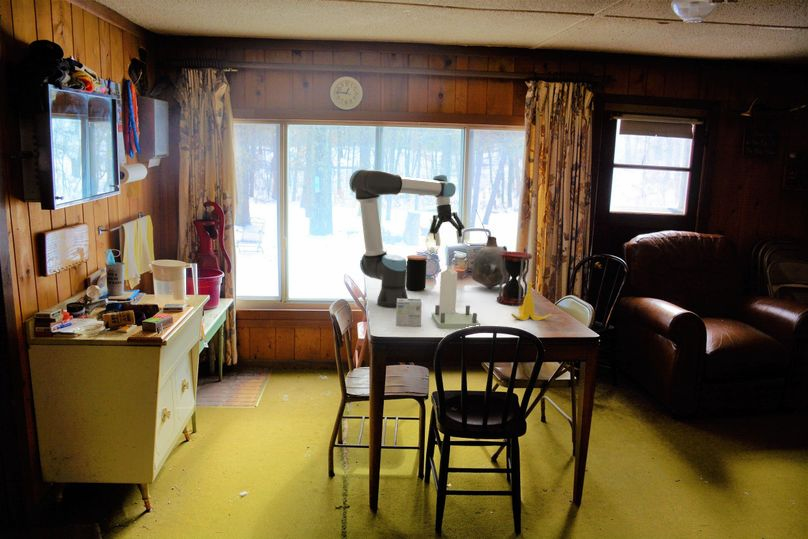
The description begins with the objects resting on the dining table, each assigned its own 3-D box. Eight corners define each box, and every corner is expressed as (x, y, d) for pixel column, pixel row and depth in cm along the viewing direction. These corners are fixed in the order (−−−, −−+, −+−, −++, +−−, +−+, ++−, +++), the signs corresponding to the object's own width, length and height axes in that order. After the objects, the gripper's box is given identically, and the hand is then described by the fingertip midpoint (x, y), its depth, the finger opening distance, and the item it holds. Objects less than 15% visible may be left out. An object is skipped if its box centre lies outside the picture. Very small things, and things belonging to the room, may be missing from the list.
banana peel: (510, 321, 287) (512, 284, 284) (518, 312, 304) (521, 277, 301) (547, 326, 281) (550, 288, 278) (554, 316, 298) (556, 281, 295)
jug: (518, 292, 350) (522, 237, 345) (483, 293, 343) (487, 238, 337) (495, 283, 373) (499, 232, 368) (463, 284, 365) (466, 232, 360)
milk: (438, 312, 296) (440, 266, 292) (443, 310, 302) (445, 264, 298) (450, 314, 294) (453, 267, 290) (455, 311, 299) (457, 265, 295)
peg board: (438, 328, 269) (438, 314, 268) (431, 317, 287) (432, 304, 286) (480, 328, 271) (480, 314, 270) (470, 317, 289) (471, 304, 288)
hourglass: (491, 299, 330) (494, 251, 326) (519, 298, 335) (522, 251, 330) (505, 306, 315) (508, 256, 310) (534, 305, 320) (538, 256, 315)
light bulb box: (420, 322, 277) (421, 298, 275) (421, 326, 271) (422, 301, 269) (395, 321, 277) (396, 297, 275) (395, 326, 270) (397, 301, 268)
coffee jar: (425, 288, 351) (427, 255, 348) (424, 292, 341) (426, 258, 338) (406, 286, 352) (407, 254, 349) (404, 290, 342) (406, 257, 339)
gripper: (467, 201, 332) (472, 241, 334) (427, 207, 347) (433, 245, 348) (460, 201, 326) (465, 242, 328) (420, 208, 341) (425, 247, 342)
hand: (448, 244), depth 338 cm, fingers open, 13 cm apart
